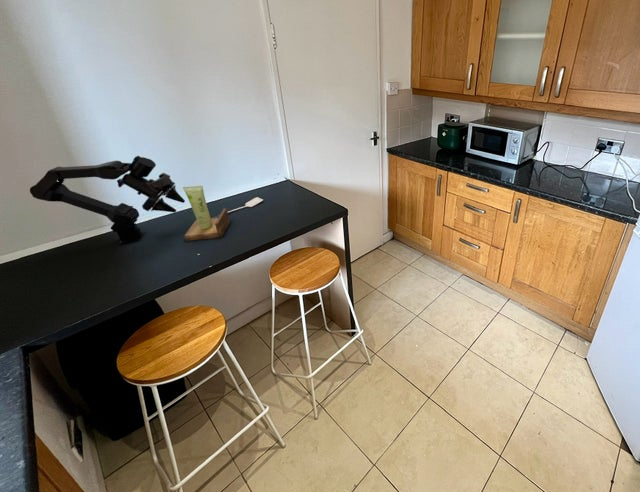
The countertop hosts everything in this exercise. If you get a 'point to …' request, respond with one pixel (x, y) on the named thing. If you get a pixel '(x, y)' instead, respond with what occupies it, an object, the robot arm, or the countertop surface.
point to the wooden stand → (211, 232)
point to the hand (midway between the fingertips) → (180, 206)
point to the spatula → (247, 204)
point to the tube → (199, 205)
